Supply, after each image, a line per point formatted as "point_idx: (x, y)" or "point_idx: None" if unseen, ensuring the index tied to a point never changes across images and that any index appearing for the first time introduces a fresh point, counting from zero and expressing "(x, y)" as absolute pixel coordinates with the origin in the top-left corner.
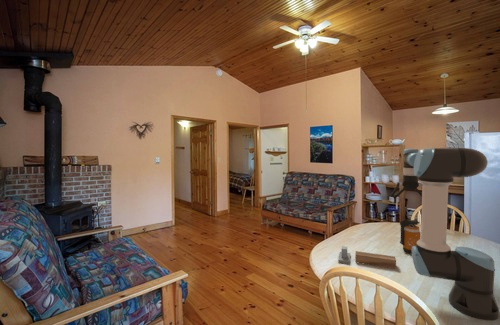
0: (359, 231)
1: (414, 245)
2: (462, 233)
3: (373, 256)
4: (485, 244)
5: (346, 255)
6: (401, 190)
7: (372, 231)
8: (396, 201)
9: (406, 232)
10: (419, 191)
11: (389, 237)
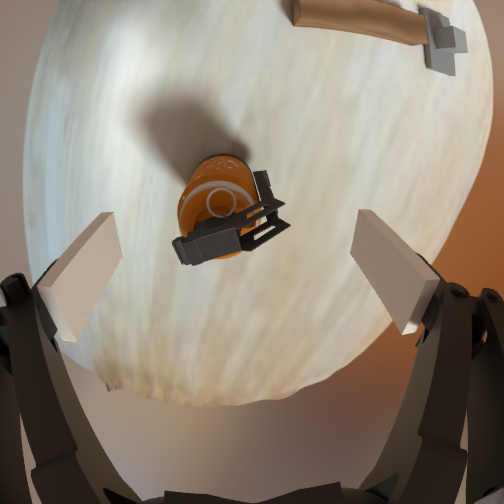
0: (377, 302)
1: (211, 161)
2: (105, 379)
3: (373, 4)
4: None
5: (440, 28)
6: (458, 423)
7: (336, 320)
8: (414, 255)
9: (247, 184)
10: (33, 441)
11: (289, 292)
